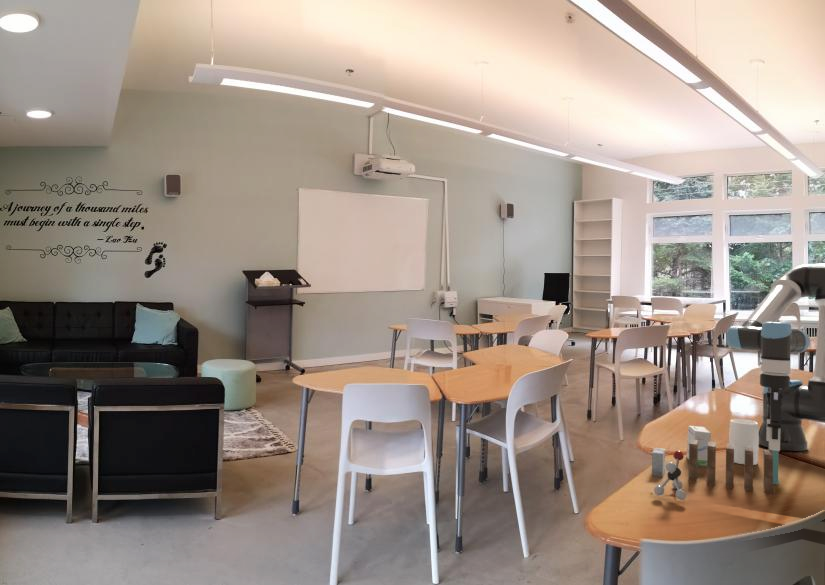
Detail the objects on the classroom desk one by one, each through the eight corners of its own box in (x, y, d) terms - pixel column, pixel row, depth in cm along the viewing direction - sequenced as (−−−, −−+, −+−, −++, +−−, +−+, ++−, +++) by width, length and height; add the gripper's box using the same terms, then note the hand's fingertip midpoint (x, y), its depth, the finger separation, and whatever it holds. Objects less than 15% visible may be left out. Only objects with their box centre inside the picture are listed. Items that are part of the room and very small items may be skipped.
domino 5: (771, 488, 167) (771, 450, 167) (772, 495, 162) (773, 455, 162) (763, 487, 168) (763, 449, 168) (764, 493, 163) (764, 454, 163)
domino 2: (715, 479, 174) (715, 442, 174) (714, 484, 169) (715, 446, 169) (707, 478, 175) (708, 441, 175) (707, 483, 170) (707, 445, 170)
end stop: (664, 471, 181) (665, 448, 181) (662, 477, 175) (662, 453, 175) (654, 469, 183) (654, 447, 183) (651, 475, 177) (652, 452, 177)
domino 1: (697, 476, 177) (697, 440, 177) (696, 482, 171) (696, 444, 171) (690, 475, 178) (690, 439, 178) (688, 480, 172) (689, 443, 172)
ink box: (686, 460, 194) (686, 425, 194) (703, 461, 193) (703, 426, 193) (693, 468, 186) (693, 430, 186) (710, 469, 184) (711, 431, 185)
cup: (756, 470, 184) (757, 425, 184) (726, 465, 189) (727, 421, 189) (760, 464, 190) (760, 421, 190) (731, 460, 196) (731, 417, 196)
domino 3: (733, 482, 172) (734, 444, 172) (733, 487, 167) (734, 449, 167) (725, 480, 173) (726, 443, 173) (725, 486, 168) (726, 448, 168)
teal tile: (776, 479, 176) (777, 442, 176) (778, 484, 170) (778, 446, 170) (768, 477, 177) (769, 441, 177) (770, 483, 171) (770, 445, 171)
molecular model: (652, 495, 159) (653, 456, 160) (663, 484, 169) (663, 447, 169) (685, 502, 155) (685, 461, 155) (694, 490, 164) (694, 452, 164)
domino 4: (752, 484, 170) (752, 446, 170) (752, 490, 164) (753, 451, 164) (744, 483, 171) (744, 446, 171) (744, 489, 165) (745, 450, 165)
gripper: (758, 369, 186) (756, 436, 186) (762, 376, 164) (759, 452, 164) (786, 371, 183) (784, 439, 182) (793, 379, 161) (791, 456, 160)
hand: (772, 445), depth 173 cm, fingers open, 13 cm apart
